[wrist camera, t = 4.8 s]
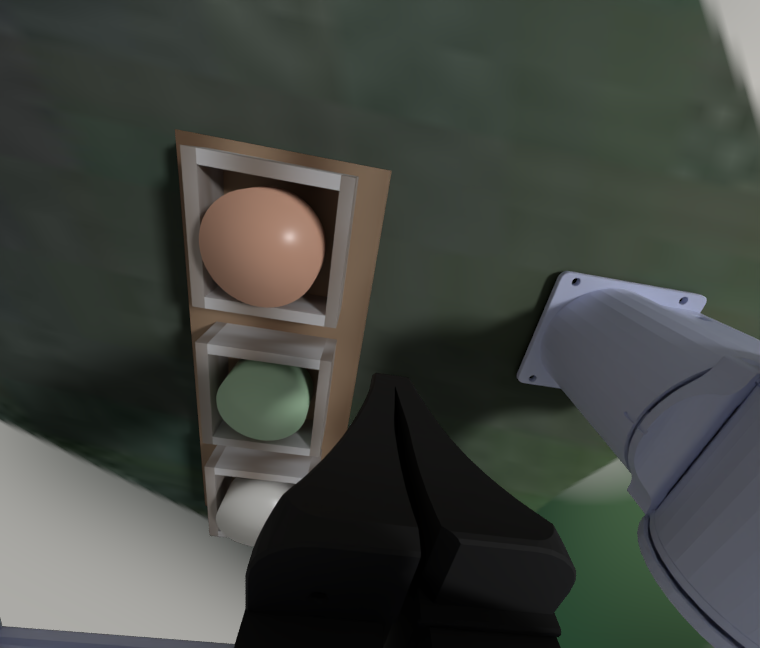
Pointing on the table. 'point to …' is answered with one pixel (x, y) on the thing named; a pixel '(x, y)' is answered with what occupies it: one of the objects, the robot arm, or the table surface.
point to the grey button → (248, 508)
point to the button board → (285, 323)
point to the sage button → (265, 399)
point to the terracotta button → (262, 245)
